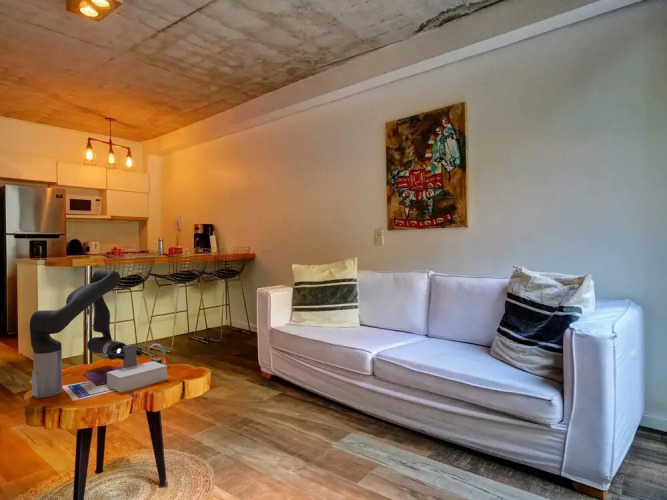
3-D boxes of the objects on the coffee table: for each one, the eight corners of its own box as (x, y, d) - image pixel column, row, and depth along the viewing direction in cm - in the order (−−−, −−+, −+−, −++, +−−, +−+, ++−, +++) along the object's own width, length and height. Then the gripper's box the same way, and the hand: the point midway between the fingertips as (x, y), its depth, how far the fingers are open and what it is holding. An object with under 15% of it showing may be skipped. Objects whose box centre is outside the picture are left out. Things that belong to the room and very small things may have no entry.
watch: (166, 367, 196) (165, 344, 196) (147, 369, 193) (147, 346, 193) (165, 363, 202) (165, 341, 201) (147, 366, 198) (147, 343, 198)
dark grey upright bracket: (121, 389, 164) (120, 354, 163) (107, 383, 172) (106, 349, 171) (164, 377, 178) (164, 345, 178) (149, 372, 186) (149, 341, 186)
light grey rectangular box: (120, 392, 162) (120, 377, 162) (107, 386, 170) (106, 372, 170) (167, 379, 178) (167, 365, 178) (153, 374, 186) (153, 361, 186)
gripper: (98, 344, 181) (114, 350, 171) (130, 338, 193) (148, 343, 182) (98, 361, 182) (115, 368, 171) (131, 354, 193) (148, 360, 183)
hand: (132, 355), depth 177 cm, fingers open, 7 cm apart
